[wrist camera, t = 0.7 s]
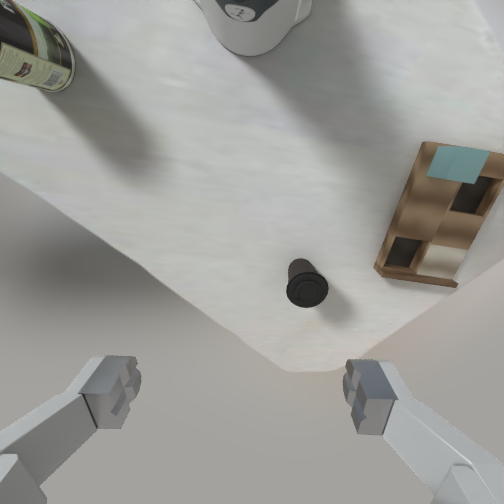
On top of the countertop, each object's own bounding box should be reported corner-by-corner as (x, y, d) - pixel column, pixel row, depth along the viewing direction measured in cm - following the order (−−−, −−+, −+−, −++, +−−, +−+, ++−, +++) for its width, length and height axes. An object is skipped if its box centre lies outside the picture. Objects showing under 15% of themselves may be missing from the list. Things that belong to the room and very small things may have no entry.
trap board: (422, 141, 45) (438, 141, 41) (506, 156, 45) (529, 157, 42) (373, 267, 55) (382, 277, 51) (442, 278, 56) (455, 287, 52)
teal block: (438, 146, 43) (459, 146, 38) (465, 150, 43) (490, 151, 39) (426, 175, 45) (445, 179, 40) (452, 180, 45) (474, 184, 40)
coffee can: (16, 1, 38) (-107, -72, 26) (81, 40, 40) (-2, -9, 27) (8, 71, 42) (-103, 39, 29) (68, 104, 44) (-11, 88, 31)
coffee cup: (275, 275, 57) (278, 300, 47) (294, 246, 54) (302, 267, 44) (305, 290, 58) (313, 317, 49) (325, 263, 55) (339, 286, 46)
